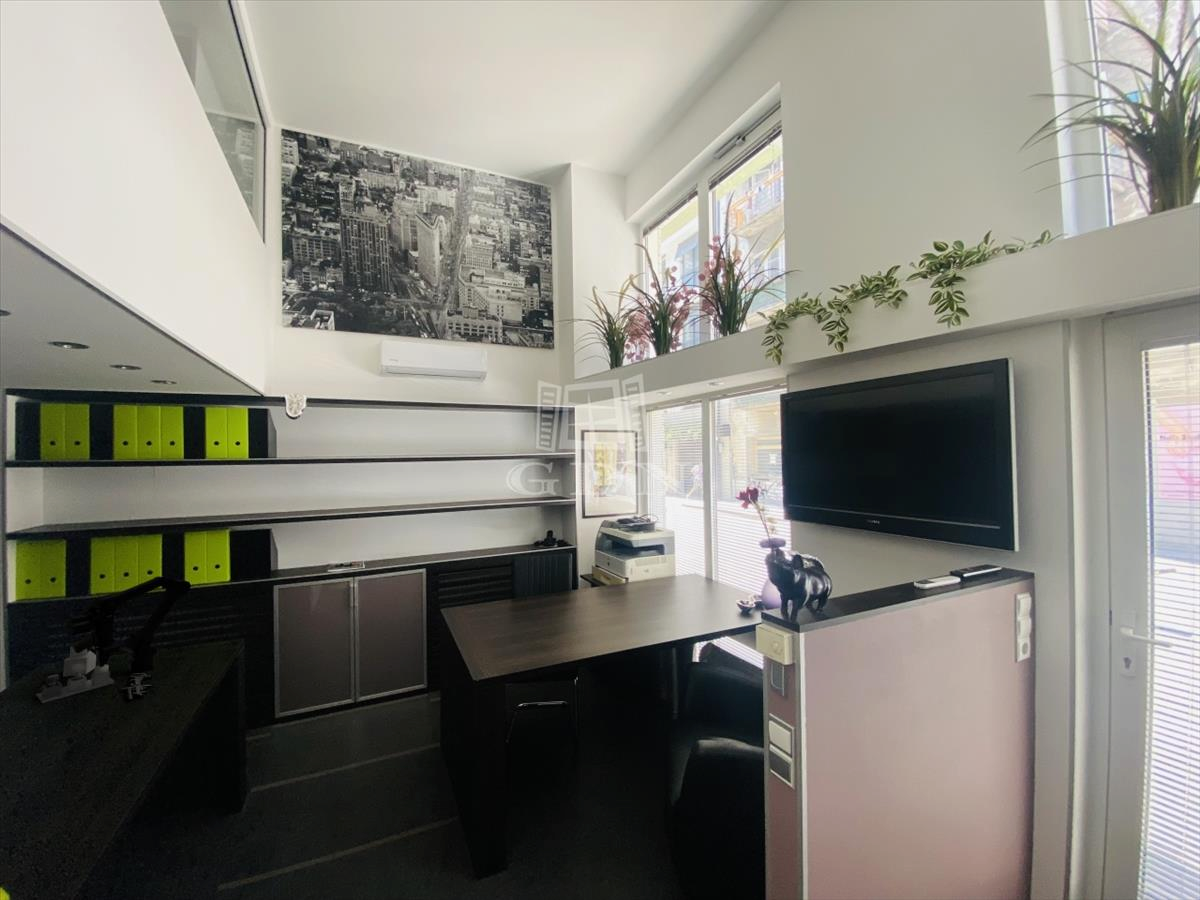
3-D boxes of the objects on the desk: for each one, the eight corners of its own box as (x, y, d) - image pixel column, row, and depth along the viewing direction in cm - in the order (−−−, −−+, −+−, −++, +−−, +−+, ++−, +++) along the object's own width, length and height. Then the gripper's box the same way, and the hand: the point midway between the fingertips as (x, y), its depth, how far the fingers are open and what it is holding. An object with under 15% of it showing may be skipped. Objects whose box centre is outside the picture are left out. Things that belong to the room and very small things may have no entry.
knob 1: (83, 676, 185) (84, 661, 185) (86, 679, 183) (87, 664, 183) (68, 680, 182) (69, 665, 182) (71, 683, 180) (72, 668, 180)
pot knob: (57, 683, 179) (58, 673, 179) (59, 685, 177) (60, 675, 177) (44, 686, 176) (45, 676, 176) (46, 689, 175) (47, 678, 175)
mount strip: (107, 677, 193) (108, 666, 193) (114, 683, 188) (115, 672, 188) (36, 696, 176) (37, 685, 177) (42, 703, 172) (42, 691, 172)
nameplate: (117, 677, 191) (150, 669, 198) (116, 680, 191) (150, 673, 198) (119, 701, 173) (156, 692, 180) (119, 705, 172) (156, 696, 180)
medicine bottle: (72, 670, 198) (74, 641, 198) (95, 667, 201) (97, 639, 201) (62, 677, 191) (64, 648, 192) (86, 674, 194) (87, 645, 195)
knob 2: (105, 677, 191) (106, 663, 191) (109, 680, 189) (109, 666, 189) (91, 681, 187) (92, 667, 187) (94, 684, 185) (95, 669, 185)
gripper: (68, 628, 186) (65, 668, 186) (81, 639, 177) (78, 680, 176) (107, 621, 196) (105, 658, 195) (122, 630, 186) (119, 669, 186)
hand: (101, 666), depth 188 cm, fingers closed, pressing on knob 2
